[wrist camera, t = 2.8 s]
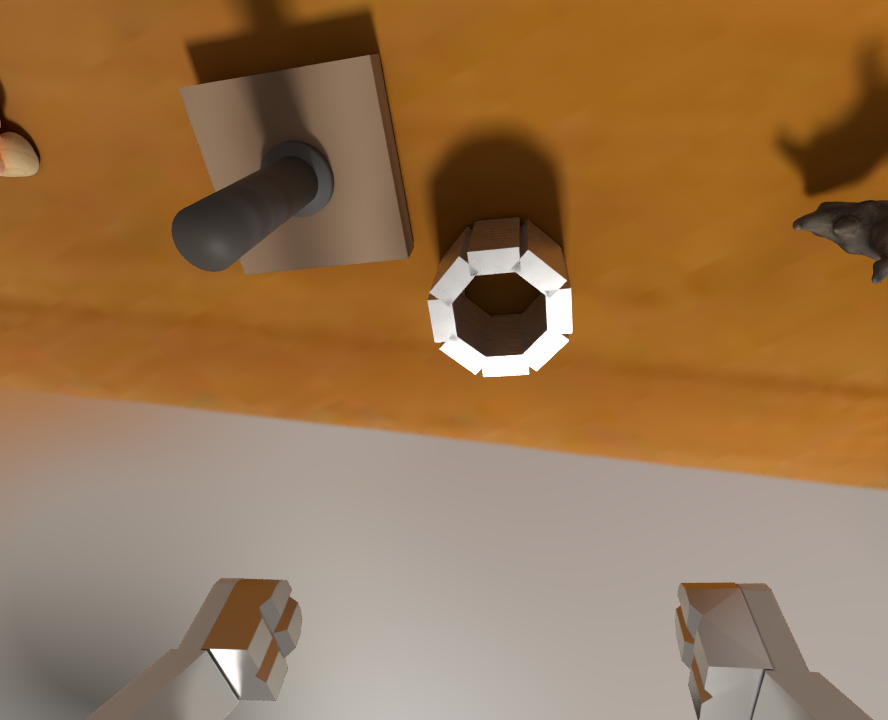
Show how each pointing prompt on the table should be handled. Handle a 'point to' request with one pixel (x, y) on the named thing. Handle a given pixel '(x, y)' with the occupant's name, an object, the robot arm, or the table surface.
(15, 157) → the grandmother figurine
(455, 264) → the steel ring
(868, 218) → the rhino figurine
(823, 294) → the table surface
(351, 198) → the post block
